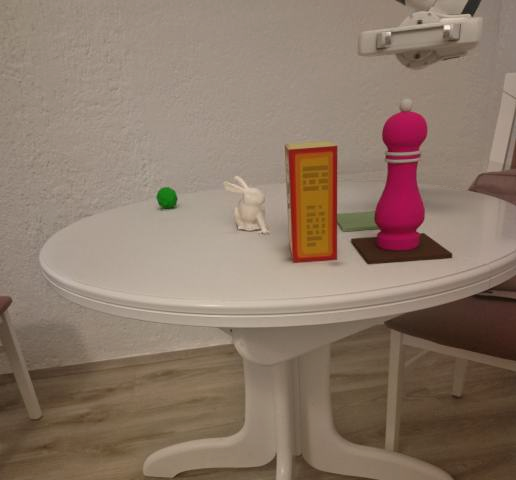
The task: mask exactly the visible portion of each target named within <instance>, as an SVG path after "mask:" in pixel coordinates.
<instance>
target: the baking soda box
mask: <svg viewBox="0 0 516 480" xmlns="http://www.w3.org/2000/svg"><path fill="white" fill-rule="evenodd" d="M284 159H285V179H286V180H285V183H286V184H285V185H286V206H287V208H286V209H287V230H288V231H287V232H288V248H289V251H290V256H291V259H292V260H291V261H292V264H293V263H295V264H296V263H308V262H322V261H335V260H336V261H337V260H338V224H337V214H338V145H336V144H334V143H333V142H331V141H329V140H320V141H318V140H317V141H308V142H307V141H306V142H305V141H304V142H296V143H295V142H294V143H285V144H284Z"/></svg>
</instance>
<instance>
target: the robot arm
mask: <svg viewBox="0 0 516 480" xmlns="http://www.w3.org/2000/svg"><path fill="white" fill-rule="evenodd" d="M394 1H396V2H397V3H399V4H401V5H403V6H406V7H408V8H409V9H410V10H412V11H414V13H412V14H410V15H408V16H407V17H406V18H404V20H402V21H401V23H400V24H399V26H395V27H388V28H380V29H379V28H377V29H371V30H370V29H369V30H365V31H360V32H359V33H358V35H357V55H358V56H359V57H365V58H366V57H369V58H372V57H385V56H393V55H395V57H396V59H397V61H398V62H399V63H400V65H402V66H404V67H405V68H406V69H409V70H412V71H422V70H424V69H427V68H428V67H430V66H432V65H435V64H437V63H439V62H444V61H448V60H452V59H459V58H461V57H466V56H467V55H468V52H469V51H472V50H474V49H475V48H476V47H478V45H480V43H481V40H482V35H483V24H484V18H483V16H475V14H476V11H478V8H479V6H480V4H481V2H482V0H394Z"/></svg>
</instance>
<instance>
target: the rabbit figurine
mask: <svg viewBox="0 0 516 480" xmlns="http://www.w3.org/2000/svg"><path fill="white" fill-rule="evenodd" d="M233 180H234V182H236V184H235V183H231V182H229V181H223V183H222V184H223V188H224V190H226V191H228V192H230V193H233V194H235V193H236V194H239V195H240V194H241V195H242V197H241V199H239V200H238V202H237V205H235V206H234V208H233V212H232V214H233V219H234V221H235V222H236V224H237V229H238V230H244V231H251V232H252V231H254V230H258V231H257V234H263V235H267V234H270V231H269V230H268V228H267V222H266V219H265V217H266V207H265V205H264V203H265V201H266V198H265V195H264V193H263V191H261V190H260V189H259V188H257V187H253V186H252V182H250V183H249V185H248V184H247V183H246V182H245V180H244V179H243V178H242V177H240V176H239V175H235V176H234V178H233ZM237 184H238V185H237Z"/></svg>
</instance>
